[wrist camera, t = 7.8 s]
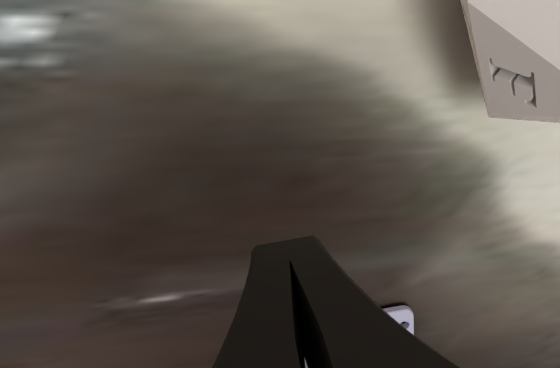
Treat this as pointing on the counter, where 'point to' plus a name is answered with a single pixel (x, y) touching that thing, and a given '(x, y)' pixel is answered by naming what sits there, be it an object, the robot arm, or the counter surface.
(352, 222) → the counter surface
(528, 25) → the pale grey faceted polyhedron
